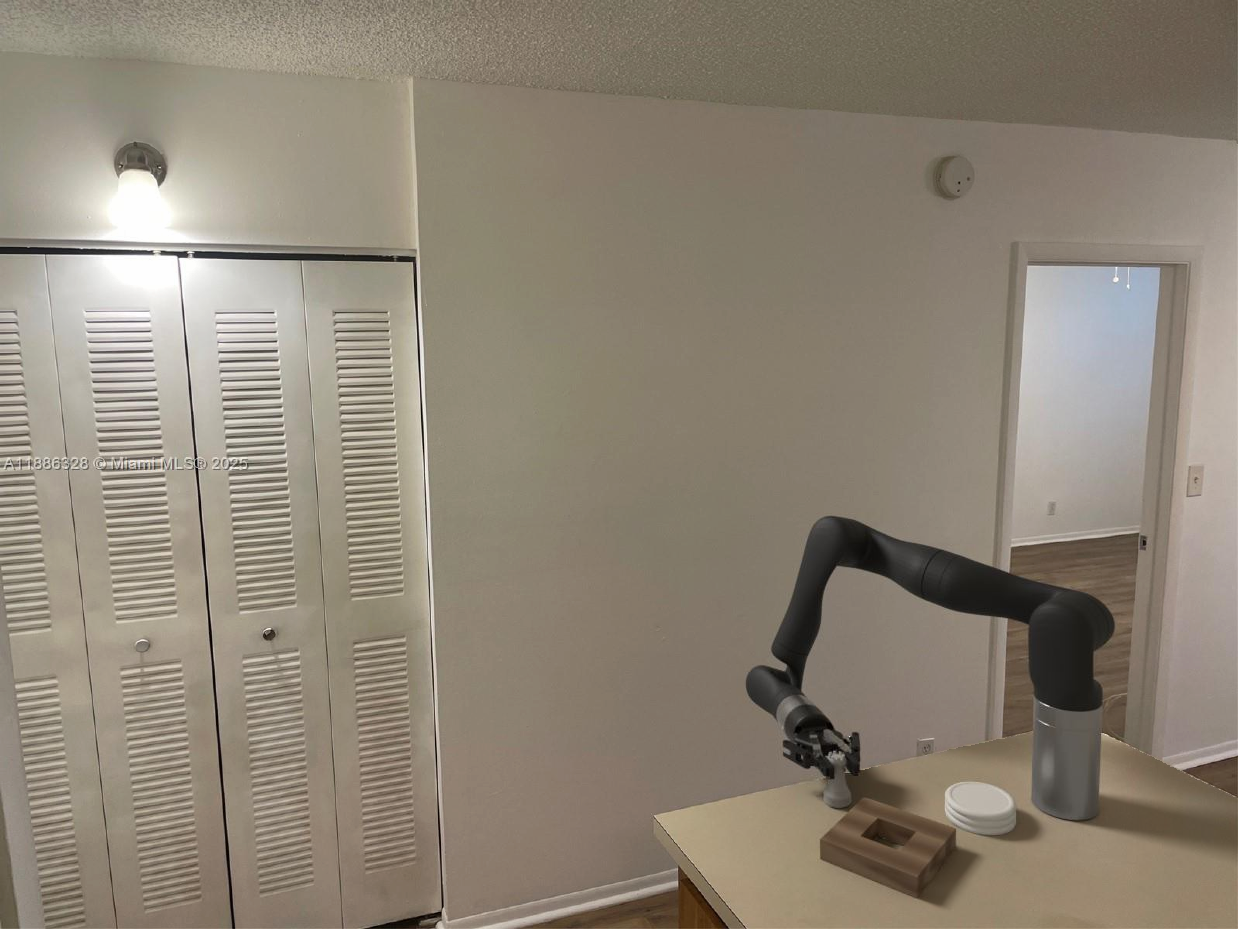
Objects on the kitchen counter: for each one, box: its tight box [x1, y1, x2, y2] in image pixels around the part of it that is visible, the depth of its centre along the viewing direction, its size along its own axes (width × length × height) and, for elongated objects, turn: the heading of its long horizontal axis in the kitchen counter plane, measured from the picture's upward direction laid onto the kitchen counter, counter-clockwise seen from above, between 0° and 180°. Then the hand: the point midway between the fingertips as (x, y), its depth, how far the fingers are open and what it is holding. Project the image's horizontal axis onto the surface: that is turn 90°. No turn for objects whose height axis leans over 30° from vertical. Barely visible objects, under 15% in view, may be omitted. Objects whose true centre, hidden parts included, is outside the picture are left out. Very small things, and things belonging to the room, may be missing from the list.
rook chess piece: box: [822, 751, 853, 809], centre depth 133 cm, size 4×4×8 cm
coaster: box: [944, 781, 1017, 836], centre depth 127 cm, size 10×10×4 cm
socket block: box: [819, 796, 957, 899], centre depth 119 cm, size 14×14×3 cm
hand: (844, 772), depth 130 cm, fingers closed on rook chess piece, 3 cm apart
